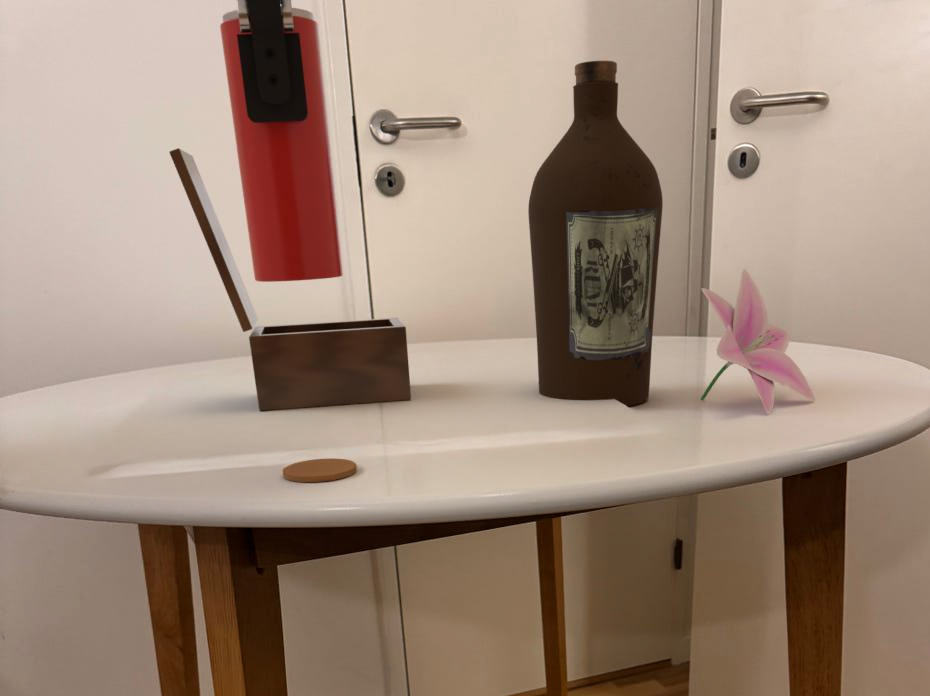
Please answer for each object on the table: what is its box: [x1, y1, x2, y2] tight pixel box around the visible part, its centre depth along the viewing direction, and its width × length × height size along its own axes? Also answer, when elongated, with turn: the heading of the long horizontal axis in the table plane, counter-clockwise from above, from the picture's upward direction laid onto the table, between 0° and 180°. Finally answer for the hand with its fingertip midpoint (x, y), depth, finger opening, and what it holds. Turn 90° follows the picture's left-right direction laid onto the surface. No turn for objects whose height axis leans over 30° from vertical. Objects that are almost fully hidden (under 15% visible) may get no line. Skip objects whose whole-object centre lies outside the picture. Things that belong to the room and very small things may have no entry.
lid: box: [169, 148, 259, 333], centre depth 76 cm, size 14×8×1 cm
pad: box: [282, 457, 358, 483], centre depth 61 cm, size 5×5×1 cm
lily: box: [700, 268, 816, 416], centre depth 75 cm, size 12×12×10 cm
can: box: [219, 7, 344, 283], centre depth 54 cm, size 5×5×13 cm
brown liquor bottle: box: [527, 60, 664, 407], centre depth 75 cm, size 11×11×25 cm
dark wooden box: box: [248, 317, 412, 413], centre depth 82 cm, size 13×8×7 cm, turn 99°
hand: (280, 123), depth 53 cm, fingers closed on can, 5 cm apart
